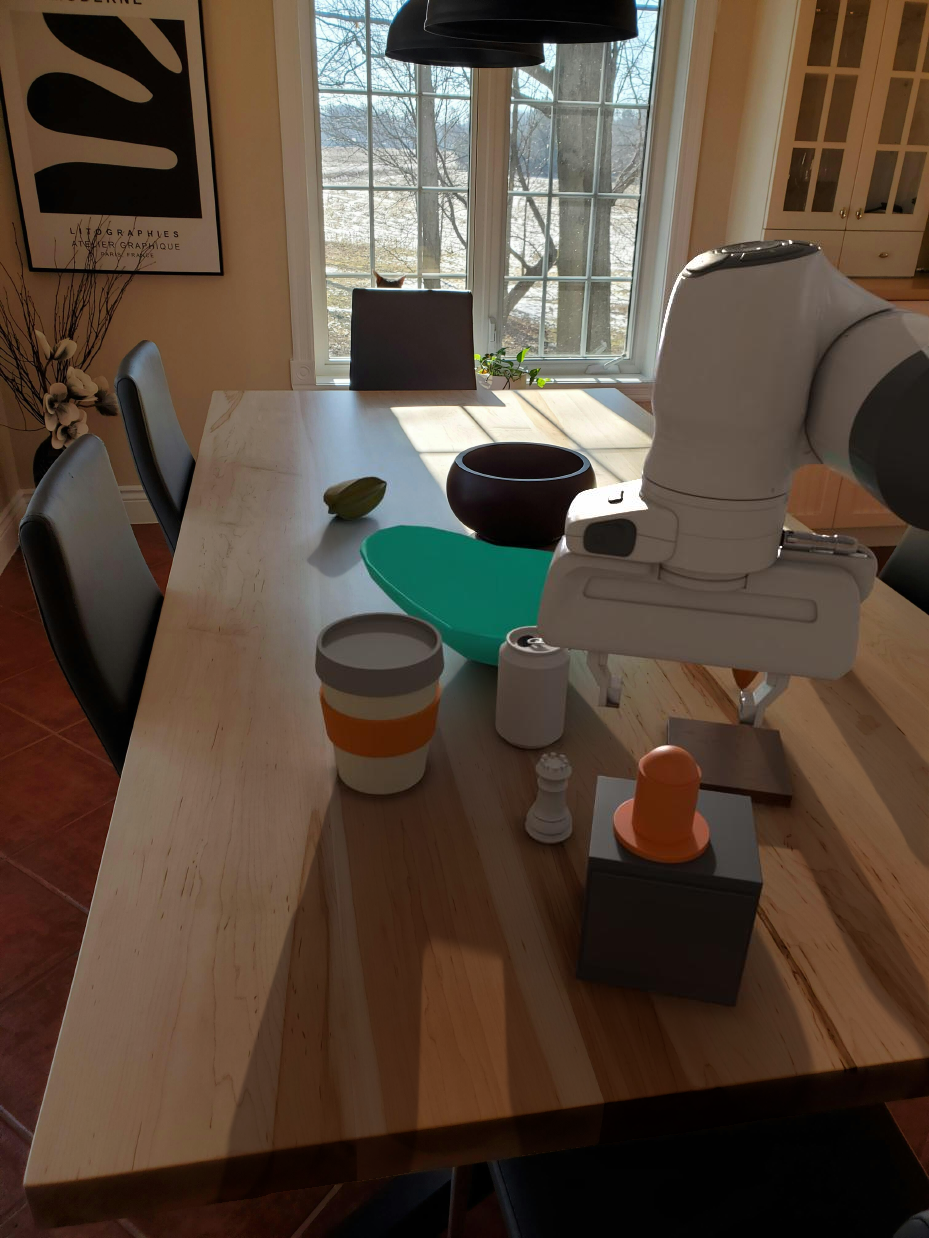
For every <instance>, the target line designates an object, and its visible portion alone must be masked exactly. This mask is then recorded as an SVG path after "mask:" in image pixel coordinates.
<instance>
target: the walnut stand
mask: <svg viewBox="0 0 929 1238" xmlns="http://www.w3.org/2000/svg"><path fill="white" fill-rule="evenodd" d="M666 722H667V723H666V745H671V746H676V747H679V748H682V749H683V750H685V751H686V752H688V753H689V754H690V755H691V756H692V758H693V759H694V761H695V763H696V764H697V765H698V766H699V768H700V770H701V773H702V775H701V782H700V787H699V790H706V791H713V792H720V793H727V794H735V795H742V796H749V797H751V800H752V804H762V805H768V806H776V807H781V808H782V807H783V808H791V806H792V801H793V797H794V794H793V790H792V789H793V788H792V783H791V780H790V774H789V771H788V765H787V760H786V756H785V752H784V746H783V741H782V737H781V732H780V729H772V728H764V727H756V726H748V725H741V724H733V723H732V724H731V723H724V722H716V721H706V720H702V719H701V720H700V719H694V718H693V719H692V718H685V717H677V716H670V715H669V716H668V717H667V721H666Z"/></svg>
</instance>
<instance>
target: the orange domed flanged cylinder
mask: <svg viewBox="0 0 929 1238" xmlns="http://www.w3.org/2000/svg"><path fill="white" fill-rule="evenodd" d="M701 775H702V773H701V770H700V768H699V766H698V765H697V764H696V763H695V761H694V759H693V758H692V756H691V755H690V754H689V753H688V752H686V751H685V750H683V749H682V748H679V747H676V746H671V745H667V744H666V745H661V746H658V747H655V748H654V749H652V750H651V751H649V752H648V754H646V755H644V756H643V757H642V758H641V759H640V760H639V763H638V767H637V776H636V781H637V782H636V789H635V797H634V799H631V800H628V801H626V802H625V803H623V804H622V805H621V806H620V807H619V808H618V809H617V810H616V812H615V814H614V819H613V830H614V833H615V836H616V837H617V839H618V840H619V842H620V843H621V844H622V845H623V846H624V847H625V848H627V849H628V850H629V851H631V852H632V853H634V854H636V855H638V856H640V857H642V858H645V859H648V860H651V861H655V862H660V863H682V862H687V861H690V860H693V859H695V858H697V857H699V856H700V855H701V854H702V853H703V852H704V851H705V850H706V848H707V846H708V843H709V839H710V830H709V827H708V824H707V822H706V821H705V819H704V818H703V817H702V816H701V815H700V814H699V813H698V812H697V811H696V805H697V799H698V793H699V787H700V782H701Z"/></svg>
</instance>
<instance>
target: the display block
mask: <svg viewBox="0 0 929 1238" xmlns="http://www.w3.org/2000/svg"><path fill="white" fill-rule="evenodd" d="M636 782H637V780H634V779H625V778H619V777H611V776H604V775H597V778H596V788H595V797H594V804H593V805H594V806H593V814H592V824H591V832H590V841H589V848H588V857H587V867H586V877H585V885H584V886H585V887H584V894H583V902H582V912H581V921H580V930H579V938H578V948H577V956H576V965H575V974H574V975H575V976H574V978H575V979H576V980H582V981H586V982H587V981H589V982H592V983H593V982H594V983H598V984H603V985H604V984H605V985H610V986H615V987H616V986H617V987H622V988H626V989H633V990H638V991H645V992H650V993H655V994H662V995H668V996H673V997H677V998H678V997H679V998H684V999H691V1000H695V1001H701V1002H706V1003H713V1004H719V1005H724V1006H730V1007H736V1006H737V1002H738V998H739V993H740V989H741V986H742V985H741V984H742V979H743V975H744V971H745V966H746V962H747V958H748V953H749V948H750V946H751V945H750V944H751V940H752V936H753V931H754V927H755V922H756V917H757V913H758V909H759V904H760V900H761V896H762V892H763V886H764V879H763V871H762V864H761V858H760V857H761V856H760V851H759V843H758V836H757V831H756V829H757V828H756V823H755V815H754V808H753V802H752V800H751V797H749V796H742V795H735V794H727V793H720V792H713V791H706V790H699V793H698V799H697V805H696V811H697V812H698V813H699V814H700V815H701V816H702V817H703V818H704V819H705V821H706V822H707V824H708V827H709V830H710V839H709V843H708V846H707V848H706V850H705V851H704V852H703V853H702V854H701V855H700V856H699V857H697V858H695V859H693V860H690V861H687V862H682V863H660V862H655V861H651V860H648V859H645V858H642V857H640V856H638V855H636V854H634V853H632V852H631V851H629V850H628V849H627V848H625V847H624V846H623V845H622V844H621V843H620V842H619V840H618V839H617V837H616V836H615V833H614V830H613V819H614V814H615V812H616V810H617V809H618V808H619V807H620V806H621V805H622V804H623V803H625V802H626V801H628V800H631V799H634V797H635V789H636Z"/></svg>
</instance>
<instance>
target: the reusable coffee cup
mask: <svg viewBox="0 0 929 1238" xmlns="http://www.w3.org/2000/svg"><path fill="white" fill-rule="evenodd" d="M315 644H316V645H315V646H316V648H315V659H314V670H315V674H316V676H318V678H319V680H320V683H321V684H320V687H319V691H318V695H319V701H320V705H321V711H322V716H323V721H324V726H325V732H326V735H327V738H328V740H329V741H330V742H331V743H332V745H333V751H334V755H335V761H336V766H337V771H338V775H339V777H340V779H341V781H342V782H343V783H344V784H345V785H346V786H348V787H349V788H351V789H352V790H355V791H357V792H361V793H364V794H369V795H390V794H395V793H399V792H400V793H401V792H403V791H405V790H408V789H410V788H412V787H414V786H415V785H416V784H417V783H418V782H419V781H420V780H422V778H423V777H424V774H425V771H426V765H427V759H428V753H429V746H430V741H431V739H433V737H434V735H435V732H436V728H437V724H438V723H437V722H438V717H439V711H440V703H441V698H442V686H441V683H440V677H441V676H442V674H443V672H444V669H445V656H444V648H443V647H444V646H443V642H442V637H441V634H440V632H439V631H438V630H437V629H436V627H435V626H433V625H432V624H430V623H429V622H427V621H424V620H422V619H420V618H417V617H414V616H410V615H408V614H406V613H401V612H400V613H399V612H390V611H389V612H388V611H387V612H385V611H383V612H380V611H376V612H364V613H358V614H353V615H349V616H345V617H342V618H339V619H337V620H335V621H333V622H331V623H329V624H327V626H325V627H324V628H323V629H321V631H320V632H319V633H318V635H317V639H316V643H315Z"/></svg>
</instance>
